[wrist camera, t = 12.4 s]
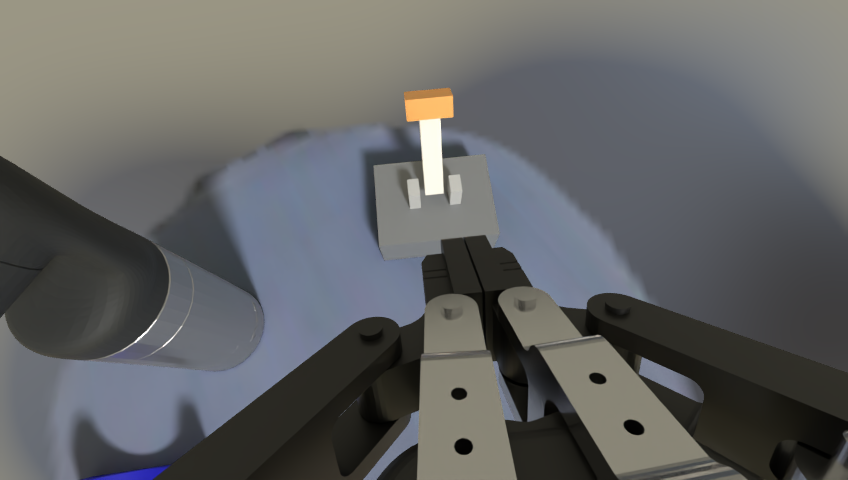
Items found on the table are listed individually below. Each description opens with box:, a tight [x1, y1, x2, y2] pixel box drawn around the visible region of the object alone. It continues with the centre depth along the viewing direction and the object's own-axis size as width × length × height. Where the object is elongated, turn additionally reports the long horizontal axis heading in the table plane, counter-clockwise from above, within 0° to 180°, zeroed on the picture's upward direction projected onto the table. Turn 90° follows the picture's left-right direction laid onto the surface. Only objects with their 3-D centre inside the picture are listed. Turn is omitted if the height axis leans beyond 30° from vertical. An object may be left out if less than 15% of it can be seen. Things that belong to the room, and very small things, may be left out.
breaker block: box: [374, 154, 500, 261], centre depth 45 cm, size 13×10×8 cm
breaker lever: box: [404, 88, 453, 195], centre depth 40 cm, size 4×2×10 cm
